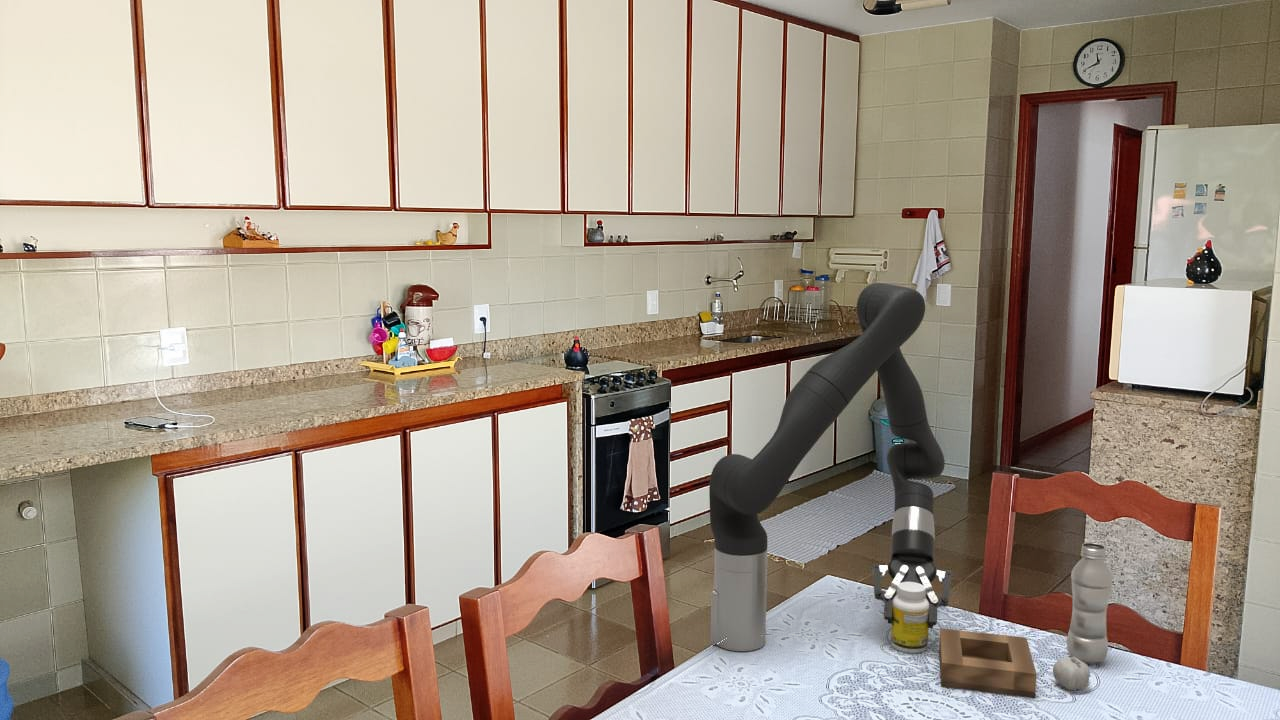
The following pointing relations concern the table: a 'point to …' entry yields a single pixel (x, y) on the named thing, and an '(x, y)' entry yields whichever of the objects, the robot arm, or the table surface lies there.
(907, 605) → the pill bottle
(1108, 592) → the plastic bottle
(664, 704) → the table surface
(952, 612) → the table surface
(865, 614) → the table surface
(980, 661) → the wooden square tray
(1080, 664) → the garlic
